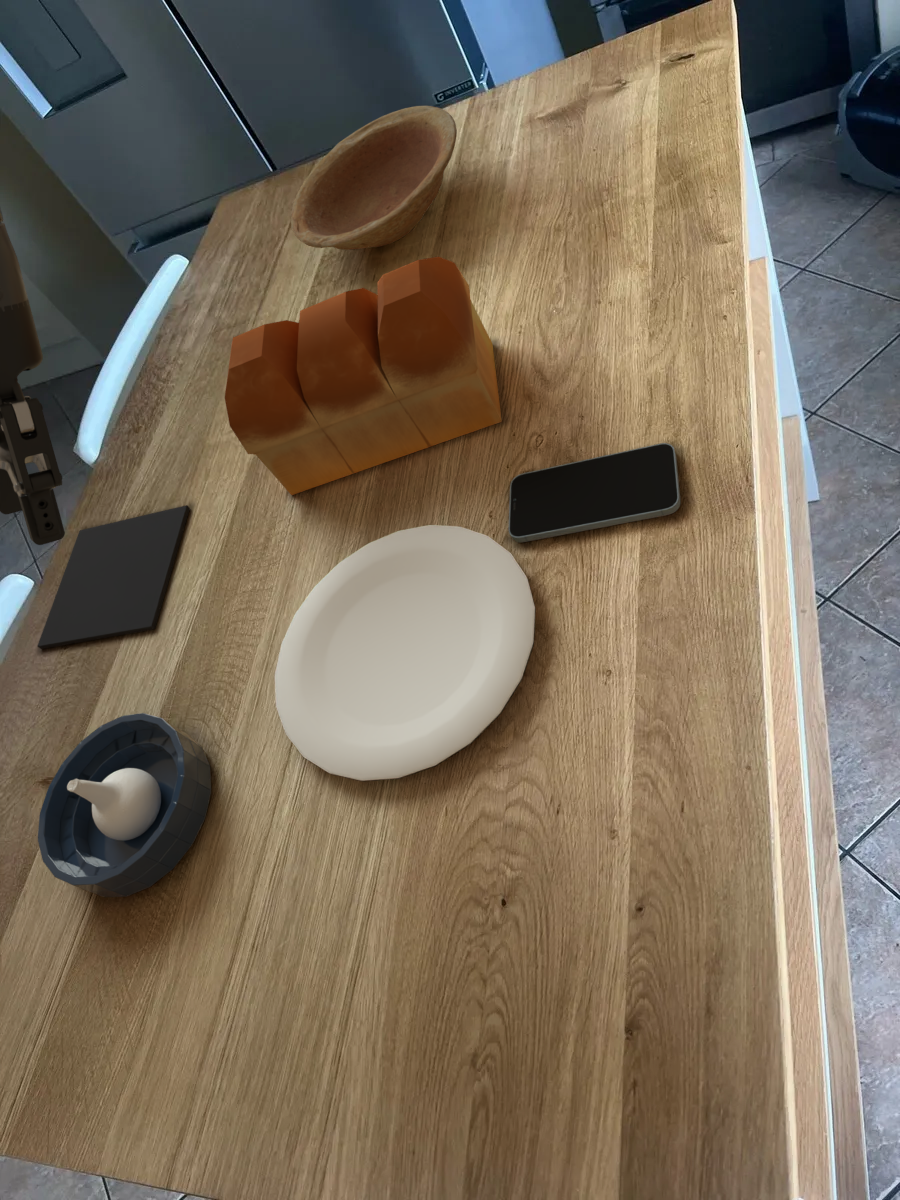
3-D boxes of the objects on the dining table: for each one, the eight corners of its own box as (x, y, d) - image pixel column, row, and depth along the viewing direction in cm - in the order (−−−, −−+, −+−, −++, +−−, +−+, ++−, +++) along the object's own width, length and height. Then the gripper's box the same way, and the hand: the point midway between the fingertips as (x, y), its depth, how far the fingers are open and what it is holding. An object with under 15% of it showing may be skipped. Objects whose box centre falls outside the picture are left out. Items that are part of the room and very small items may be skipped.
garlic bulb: (177, 779, 81) (117, 744, 75) (152, 847, 78) (88, 817, 72) (126, 774, 84) (64, 741, 78) (100, 840, 81) (33, 811, 75)
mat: (40, 649, 100) (36, 646, 100) (83, 532, 109) (79, 530, 108) (155, 629, 94) (151, 626, 94) (190, 508, 103) (186, 504, 102)
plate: (353, 849, 71) (343, 843, 70) (245, 651, 87) (235, 642, 86) (600, 650, 71) (594, 640, 70) (447, 489, 87) (440, 478, 86)
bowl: (334, 190, 128) (305, 139, 122) (490, 138, 118) (466, 80, 112) (298, 305, 116) (264, 255, 110) (468, 258, 106) (441, 200, 100)
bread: (287, 498, 97) (204, 405, 85) (293, 417, 104) (217, 320, 92) (506, 422, 89) (446, 308, 78) (495, 340, 96) (439, 225, 85)
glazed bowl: (53, 901, 81) (15, 887, 77) (101, 741, 89) (69, 722, 85) (192, 896, 75) (157, 881, 71) (231, 725, 83) (201, 705, 79)
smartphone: (679, 507, 74) (508, 540, 80) (682, 514, 75) (511, 546, 80) (673, 440, 78) (510, 475, 84) (675, 446, 79) (513, 481, 84)
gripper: (-116, 299, 63) (-45, 515, 71) (-71, 319, 53) (5, 568, 60) (-4, 285, 67) (52, 490, 75) (57, 301, 57) (115, 536, 65)
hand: (31, 525), depth 68 cm, fingers open, 8 cm apart
